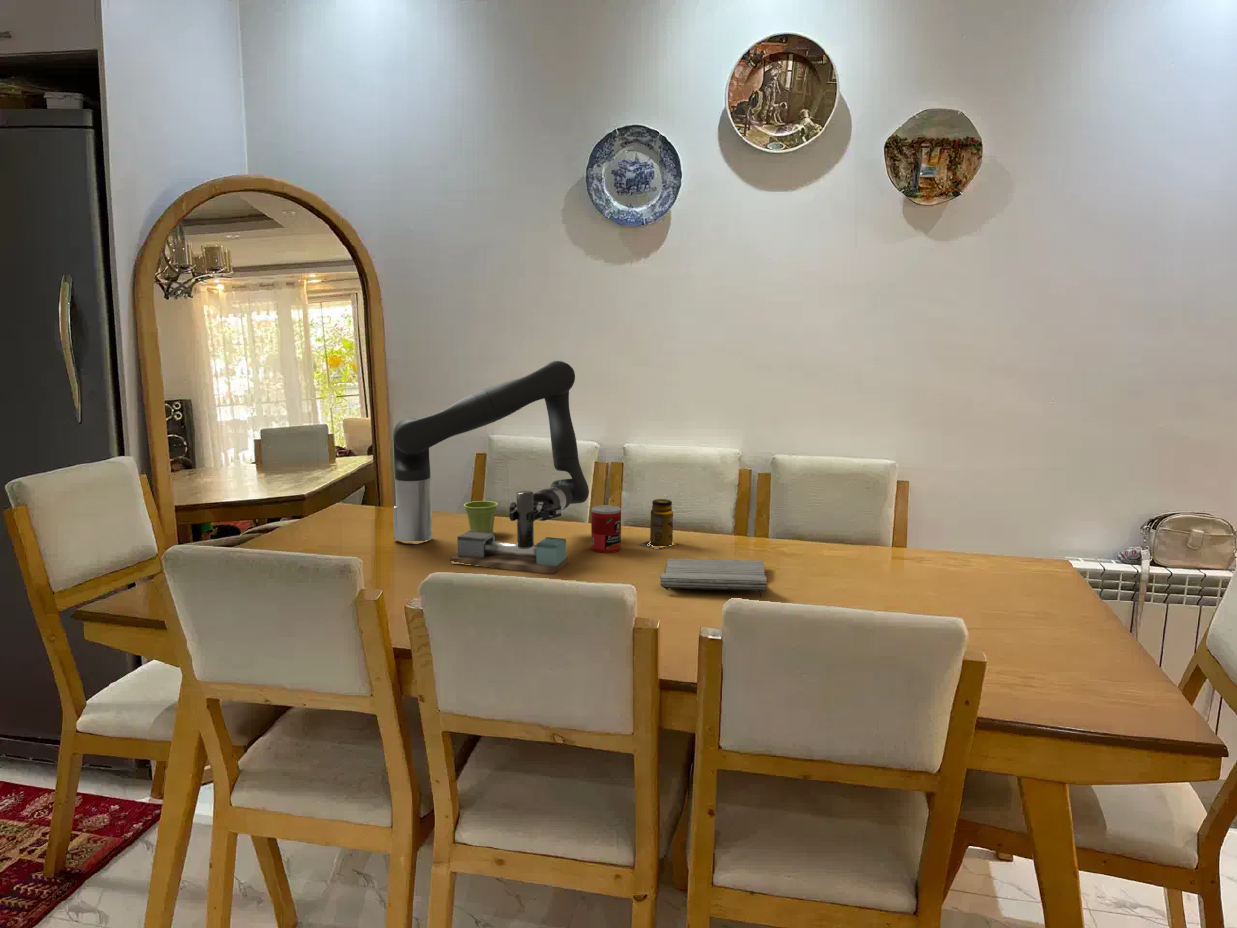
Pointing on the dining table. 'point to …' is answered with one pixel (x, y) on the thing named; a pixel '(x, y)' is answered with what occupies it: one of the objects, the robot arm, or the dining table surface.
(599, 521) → the canned food
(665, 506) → the condiment
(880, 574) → the dining table surface
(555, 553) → the socket block
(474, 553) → the sleeve
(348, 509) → the dining table surface
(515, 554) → the slide bolt
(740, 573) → the mat
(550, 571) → the board
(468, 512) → the plant pot
